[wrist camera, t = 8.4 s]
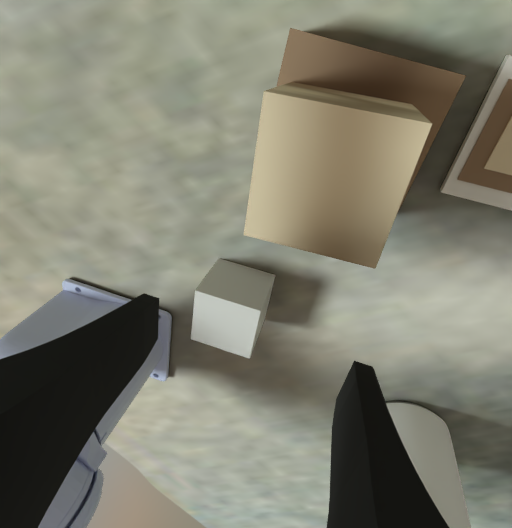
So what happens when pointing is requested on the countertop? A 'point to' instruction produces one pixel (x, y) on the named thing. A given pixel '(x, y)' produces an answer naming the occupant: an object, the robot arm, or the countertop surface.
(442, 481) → the can
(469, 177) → the card
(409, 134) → the maple cube
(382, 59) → the walnut block
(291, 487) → the countertop surface
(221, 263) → the grey cube
